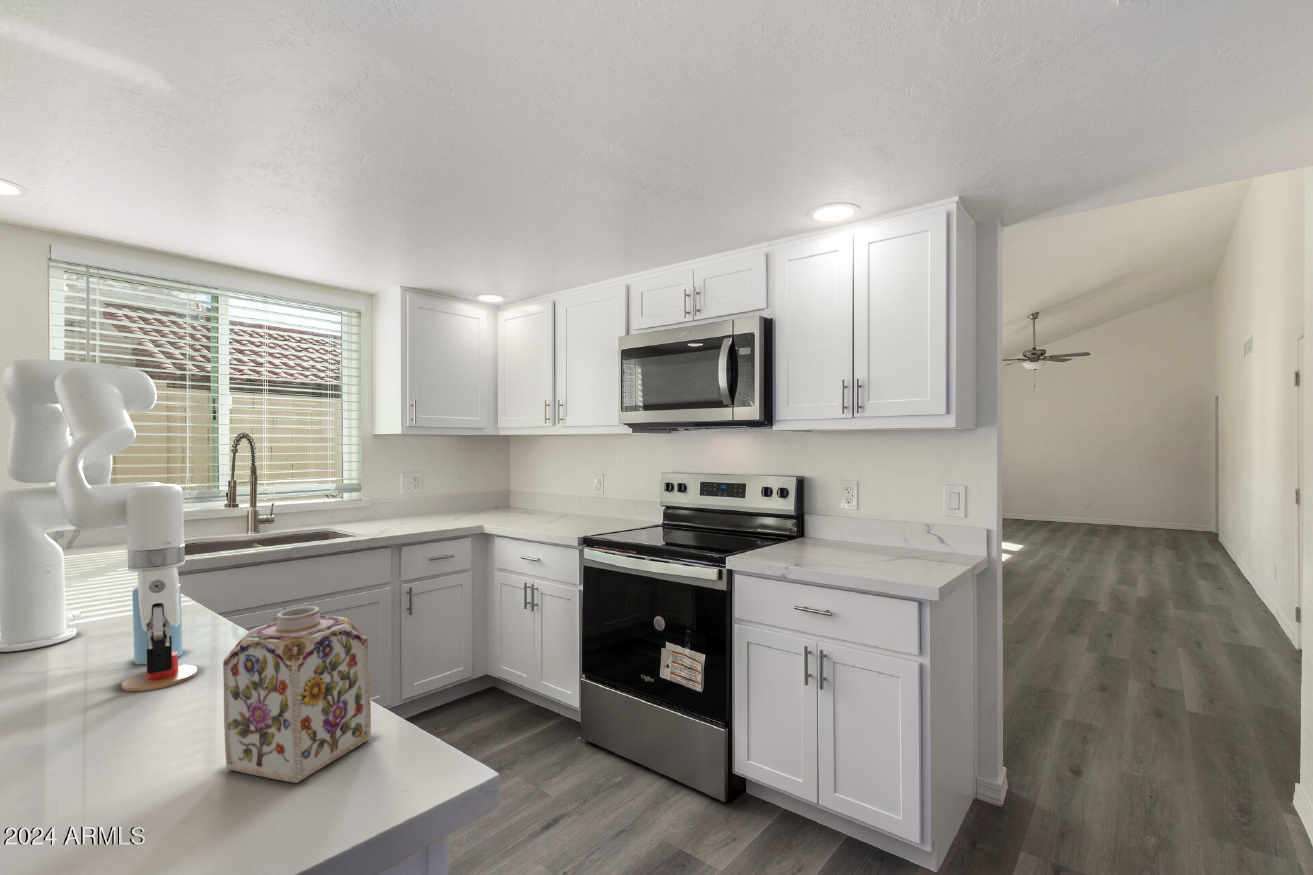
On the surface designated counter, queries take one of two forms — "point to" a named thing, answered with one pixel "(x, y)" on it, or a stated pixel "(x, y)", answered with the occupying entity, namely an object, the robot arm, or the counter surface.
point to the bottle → (142, 635)
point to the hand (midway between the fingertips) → (160, 665)
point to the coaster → (143, 684)
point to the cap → (169, 672)
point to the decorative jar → (296, 695)
